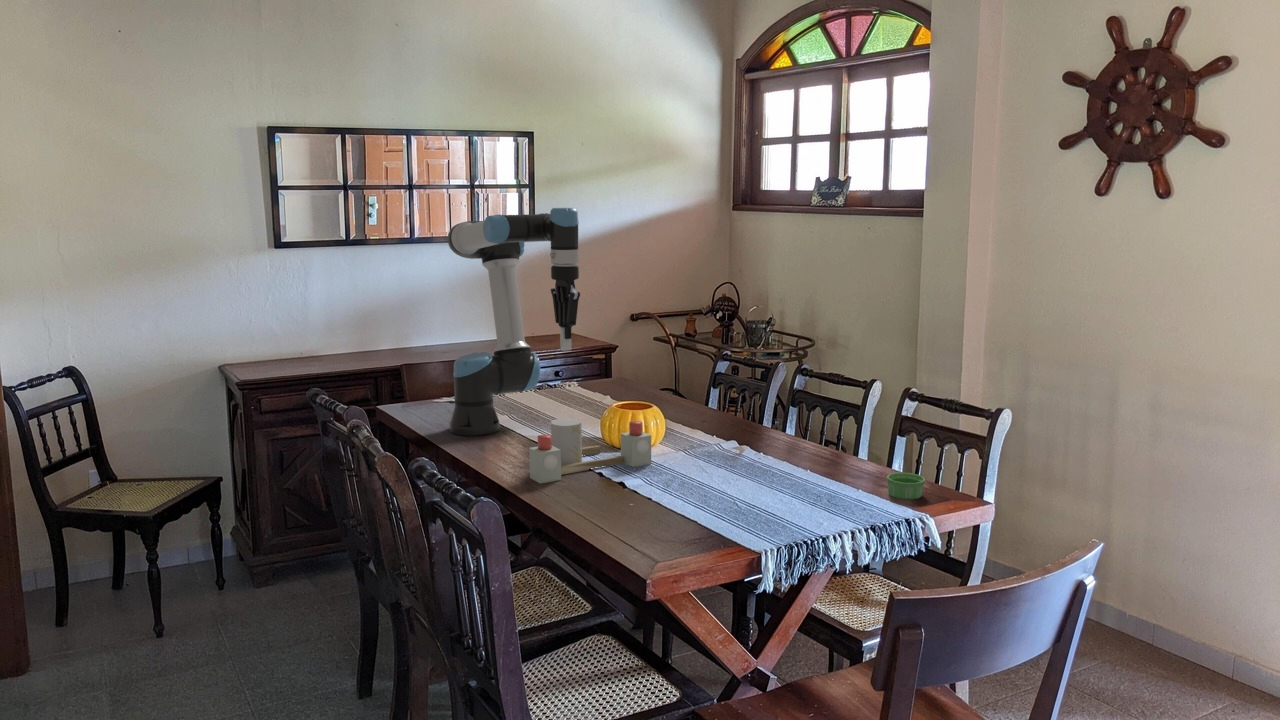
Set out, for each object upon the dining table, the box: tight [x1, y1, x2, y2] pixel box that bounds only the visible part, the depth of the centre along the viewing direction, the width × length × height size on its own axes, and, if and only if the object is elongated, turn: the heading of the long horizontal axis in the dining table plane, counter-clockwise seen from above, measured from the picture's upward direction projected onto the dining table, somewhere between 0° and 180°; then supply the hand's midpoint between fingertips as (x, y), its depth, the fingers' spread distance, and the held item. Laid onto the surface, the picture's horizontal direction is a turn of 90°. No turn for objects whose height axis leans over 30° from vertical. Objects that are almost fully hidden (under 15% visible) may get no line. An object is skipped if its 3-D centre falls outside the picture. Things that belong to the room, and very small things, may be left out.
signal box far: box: [620, 431, 652, 468], centre depth 272 cm, size 6×6×8 cm
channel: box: [561, 445, 624, 476], centre depth 273 cm, size 14×19×2 cm
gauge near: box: [537, 434, 552, 450], centre depth 257 cm, size 4×4×3 cm
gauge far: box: [628, 420, 644, 435], centre depth 271 cm, size 4×4×3 cm
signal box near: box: [528, 445, 562, 484], centre depth 258 cm, size 6×6×8 cm
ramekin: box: [886, 472, 926, 500], centre depth 245 cm, size 9×9×4 cm
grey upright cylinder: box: [550, 417, 583, 465], centre depth 270 cm, size 8×8×12 cm
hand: (566, 350), depth 278 cm, fingers closed
